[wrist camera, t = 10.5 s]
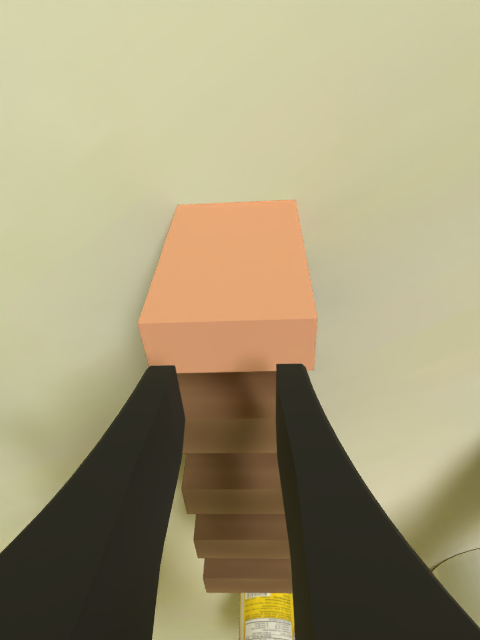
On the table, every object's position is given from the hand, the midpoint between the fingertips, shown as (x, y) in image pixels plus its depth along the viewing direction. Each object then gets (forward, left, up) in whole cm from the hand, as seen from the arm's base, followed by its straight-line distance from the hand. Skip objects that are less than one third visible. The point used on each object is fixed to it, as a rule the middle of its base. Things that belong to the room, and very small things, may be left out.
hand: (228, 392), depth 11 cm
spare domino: (0, 0, -10) cm, 10 cm away
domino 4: (-3, +3, -10) cm, 11 cm away
